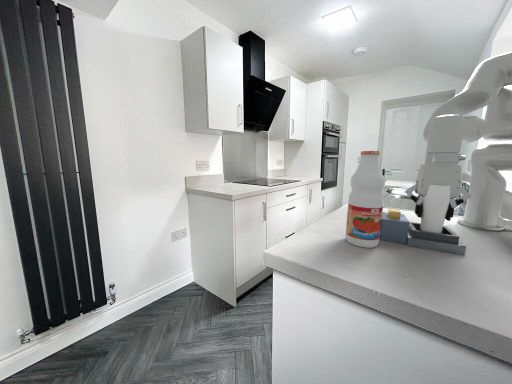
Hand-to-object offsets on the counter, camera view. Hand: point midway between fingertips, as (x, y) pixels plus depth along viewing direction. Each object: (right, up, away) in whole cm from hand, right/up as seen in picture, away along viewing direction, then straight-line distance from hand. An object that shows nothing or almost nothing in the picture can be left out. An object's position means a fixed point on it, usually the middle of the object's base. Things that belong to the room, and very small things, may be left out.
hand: (432, 217), depth 66 cm
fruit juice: (-22, -8, +1) cm, 23 cm away
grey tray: (-4, -8, +3) cm, 9 cm away
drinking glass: (0, -5, +1) cm, 5 cm away
